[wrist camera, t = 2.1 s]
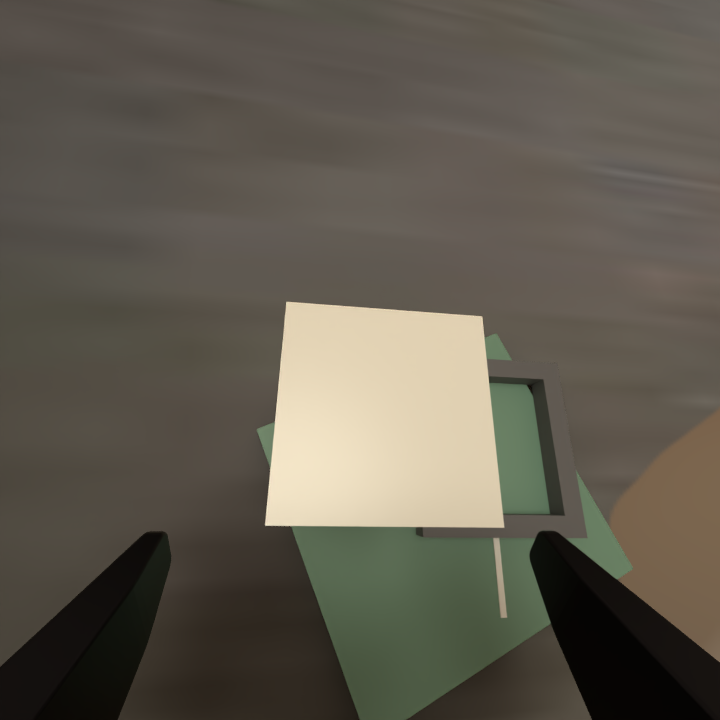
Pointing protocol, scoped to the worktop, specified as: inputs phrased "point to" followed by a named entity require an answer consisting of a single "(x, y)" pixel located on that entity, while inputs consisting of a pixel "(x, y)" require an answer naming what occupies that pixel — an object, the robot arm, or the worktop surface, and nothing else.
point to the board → (456, 560)
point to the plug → (383, 421)
